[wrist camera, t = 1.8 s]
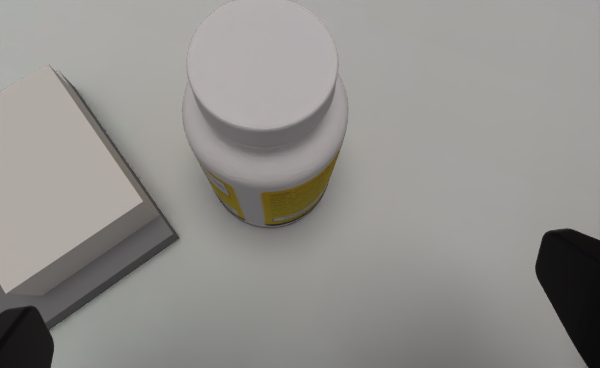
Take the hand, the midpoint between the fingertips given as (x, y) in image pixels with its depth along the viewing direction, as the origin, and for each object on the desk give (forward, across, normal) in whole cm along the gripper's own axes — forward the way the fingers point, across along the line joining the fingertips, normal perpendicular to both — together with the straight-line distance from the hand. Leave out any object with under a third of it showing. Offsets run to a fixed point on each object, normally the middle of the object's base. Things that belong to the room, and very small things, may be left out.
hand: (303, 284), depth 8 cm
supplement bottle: (+13, 0, +5) cm, 14 cm away
